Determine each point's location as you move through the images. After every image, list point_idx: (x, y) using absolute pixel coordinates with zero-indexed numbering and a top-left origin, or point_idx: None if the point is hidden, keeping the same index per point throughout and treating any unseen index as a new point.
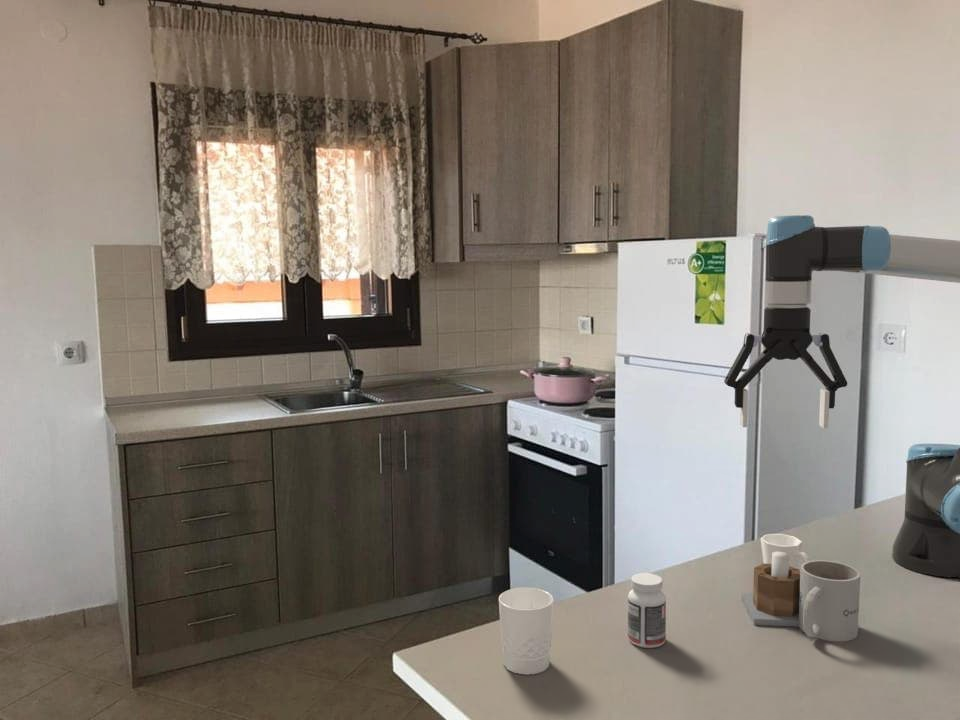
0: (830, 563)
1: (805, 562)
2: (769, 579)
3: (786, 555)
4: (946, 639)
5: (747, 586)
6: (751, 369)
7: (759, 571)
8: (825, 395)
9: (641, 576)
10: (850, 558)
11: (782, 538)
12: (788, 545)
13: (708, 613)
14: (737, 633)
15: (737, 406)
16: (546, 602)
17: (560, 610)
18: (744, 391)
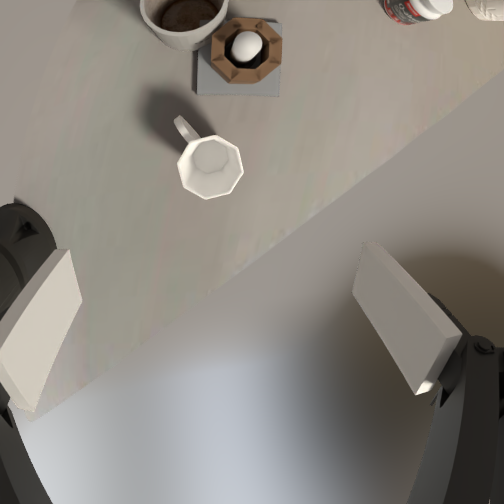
0: (169, 31)
1: (212, 23)
2: (268, 25)
3: (239, 39)
4: (68, 25)
5: (258, 138)
6: (493, 445)
7: (276, 50)
8: (4, 337)
9: (444, 4)
10: (102, 252)
11: (201, 191)
12: (193, 182)
13: (328, 57)
14: (305, 7)
15: (430, 296)
16: (500, 2)
17: (461, 87)
18: (458, 332)
